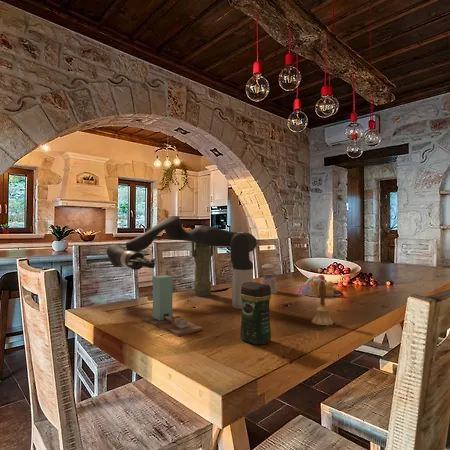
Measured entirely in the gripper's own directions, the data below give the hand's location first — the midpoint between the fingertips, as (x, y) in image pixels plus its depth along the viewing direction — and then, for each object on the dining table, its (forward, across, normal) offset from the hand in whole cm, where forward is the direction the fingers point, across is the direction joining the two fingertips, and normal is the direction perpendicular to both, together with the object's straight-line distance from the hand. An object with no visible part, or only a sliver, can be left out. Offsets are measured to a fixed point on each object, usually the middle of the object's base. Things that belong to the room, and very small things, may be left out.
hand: (152, 265), depth 129 cm
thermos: (-18, -40, -21) cm, 49 cm away
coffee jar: (+45, -12, -19) cm, 50 cm away
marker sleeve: (+8, 0, -19) cm, 20 cm away
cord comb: (+14, 0, -20) cm, 24 cm away
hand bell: (+49, -45, -18) cm, 69 cm away
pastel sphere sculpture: (+19, -92, -20) cm, 96 cm away
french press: (0, -72, -20) cm, 75 cm away
